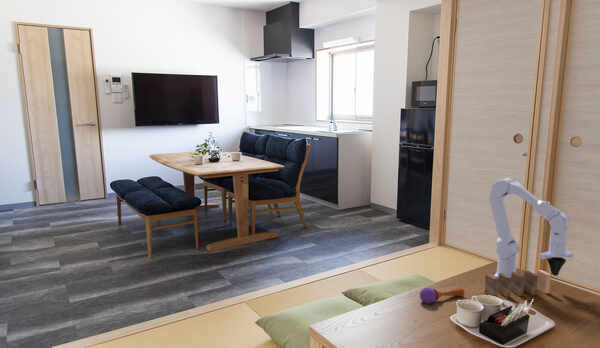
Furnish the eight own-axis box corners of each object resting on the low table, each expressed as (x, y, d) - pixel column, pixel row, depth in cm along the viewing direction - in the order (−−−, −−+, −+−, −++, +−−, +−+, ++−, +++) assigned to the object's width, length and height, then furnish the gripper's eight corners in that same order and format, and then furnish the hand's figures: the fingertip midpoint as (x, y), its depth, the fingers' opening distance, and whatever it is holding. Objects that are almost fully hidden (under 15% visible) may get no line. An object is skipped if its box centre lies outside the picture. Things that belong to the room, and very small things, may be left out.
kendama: (468, 289, 162) (428, 294, 154) (464, 302, 164) (424, 307, 156) (457, 281, 167) (418, 285, 159) (454, 293, 169) (415, 298, 161)
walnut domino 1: (488, 292, 168) (490, 273, 167) (496, 297, 163) (498, 278, 162) (484, 293, 168) (485, 274, 167) (492, 298, 163) (493, 278, 162)
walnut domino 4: (527, 289, 172) (528, 270, 171) (536, 294, 167) (538, 275, 166) (522, 289, 171) (524, 271, 170) (531, 294, 166) (533, 275, 165)
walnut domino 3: (514, 290, 171) (515, 271, 169) (523, 295, 166) (524, 276, 165) (510, 290, 170) (511, 272, 169) (518, 295, 165) (520, 276, 164)
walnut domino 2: (501, 291, 169) (503, 272, 168) (510, 296, 165) (511, 277, 163) (497, 291, 169) (498, 273, 168) (505, 297, 164) (507, 277, 163)
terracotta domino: (539, 288, 173) (541, 269, 172) (549, 293, 168) (551, 274, 167) (535, 288, 173) (537, 270, 171) (544, 293, 168) (546, 274, 167)
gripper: (550, 246, 163) (546, 279, 165) (581, 244, 166) (577, 277, 168) (536, 241, 170) (533, 273, 172) (566, 239, 173) (563, 270, 175)
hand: (554, 274), depth 170 cm, fingers closed
